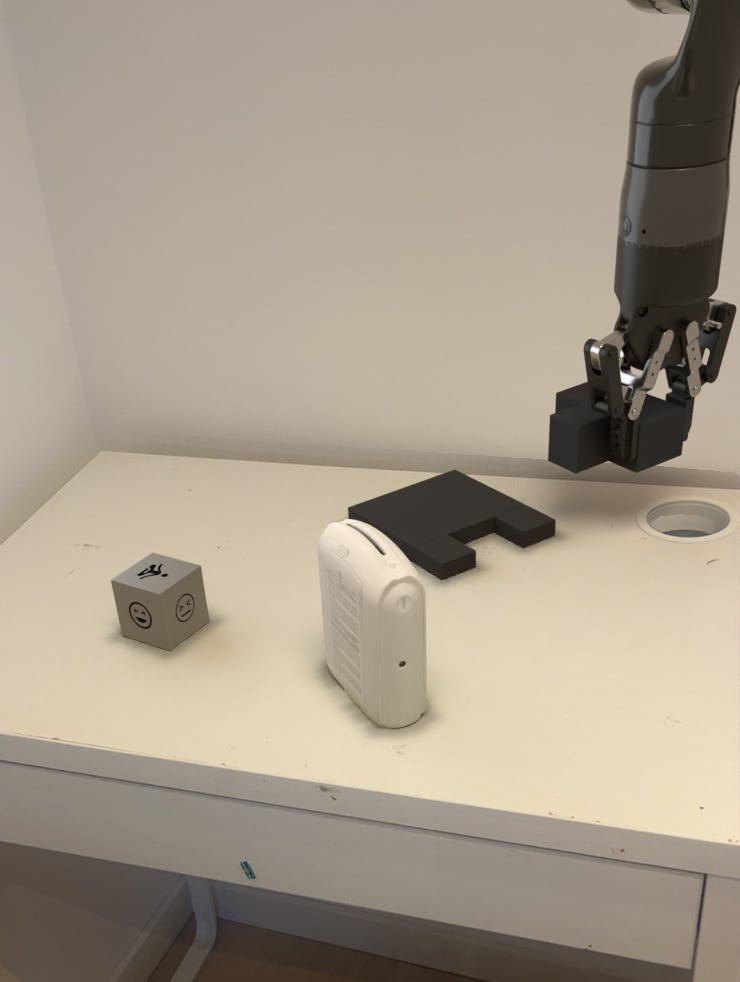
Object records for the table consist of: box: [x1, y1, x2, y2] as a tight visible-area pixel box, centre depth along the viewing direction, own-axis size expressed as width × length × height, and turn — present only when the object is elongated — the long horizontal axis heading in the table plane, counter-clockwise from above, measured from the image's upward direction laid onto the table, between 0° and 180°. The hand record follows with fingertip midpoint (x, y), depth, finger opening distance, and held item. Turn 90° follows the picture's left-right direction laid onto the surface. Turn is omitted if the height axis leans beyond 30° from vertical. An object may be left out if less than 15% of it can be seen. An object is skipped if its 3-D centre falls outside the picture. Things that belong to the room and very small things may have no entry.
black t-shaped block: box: [547, 381, 687, 474], centre depth 97 cm, size 10×8×4 cm
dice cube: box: [110, 552, 210, 652], centre depth 92 cm, size 5×5×5 cm
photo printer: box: [317, 518, 428, 729], centre depth 80 cm, size 10×4×12 cm, turn 23°
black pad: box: [347, 469, 557, 581], centre depth 102 cm, size 12×14×2 cm
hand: (649, 448), depth 95 cm, fingers closed on black t-shaped block, 5 cm apart
